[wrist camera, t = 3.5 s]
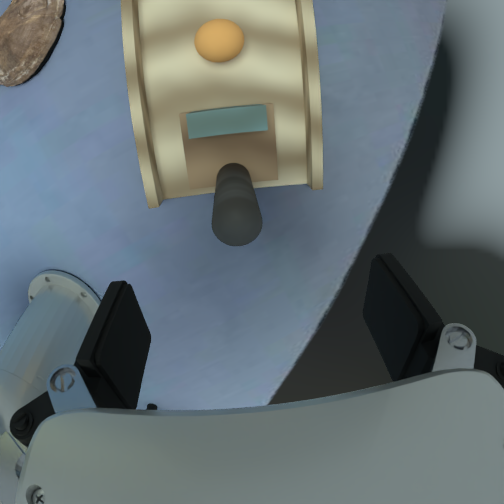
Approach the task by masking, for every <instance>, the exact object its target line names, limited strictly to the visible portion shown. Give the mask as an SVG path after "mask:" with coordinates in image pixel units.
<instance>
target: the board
mask: <svg viewBox="0 0 504 504" xmlns="http://www.w3.org/2000/svg"><path fill="white" fill-rule="evenodd" d="M121 17H122V35H123V48H124V59H125V69H126V79H127V87H128V95H129V103H130V110H131V117H132V123H133V130H134V136H135V142H136V147H137V153H138V158H139V164H140V169H141V174H142V179H143V184H144V189H145V193H146V198H147V203H148V207H149V209H150V208H156V207H159V206H160V204H161V203H162V201H163V200H164V199H170V198H177V197H184V196H192V195H199V194H207V193H215V188H216V186H215V187H207V188H199V189H191V190H190V186H189V180H188V174H187V167H186V161H185V154H184V147H183V140H182V133H181V126H180V118H179V114H180V113H185V112H192V111H198V110H206V109H213V108H221V107H230V106H241V105H252V104H266V103H273V106H274V119H275V134H276V149H277V166H278V180H271V181H261V182H252V184H253V188H261V187H272V186H283V185H295V184H308V185H309V186H310V188H311V189H312V190H320V189H323V142H322V112H321V92H320V75H319V62H318V50H317V39H316V29H315V19H314V11H313V3H312V0H121ZM214 19H227V20H230V21H232V22H234V23H236V24H237V25H238V26H239V27H240V28H241V30H242V32H243V34H244V45H243V48H242V50H241V51H240V53H239V54H238V55H237V56H236V57H234V58H233V59H231V60H229V61H226V62H219V63H217V62H211V61H208V60H206V59H204V58H203V57H201V56H200V55H199V53H198V52H197V50H196V48H195V44H194V39H195V35H196V33H197V31H198V29H199V28H200V27H201V26H202V25H203V24H205V23H206V22H208V21H210V20H214Z"/></svg>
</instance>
